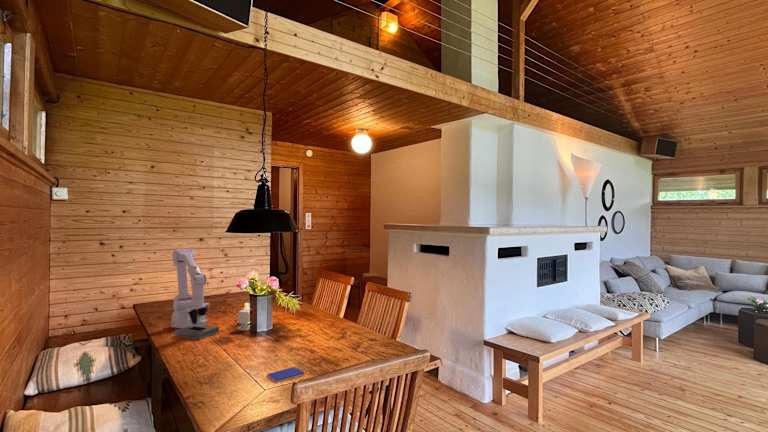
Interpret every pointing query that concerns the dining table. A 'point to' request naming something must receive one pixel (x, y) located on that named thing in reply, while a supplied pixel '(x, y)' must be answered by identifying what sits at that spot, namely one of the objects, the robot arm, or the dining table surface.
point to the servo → (198, 321)
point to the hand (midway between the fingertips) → (197, 322)
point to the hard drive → (285, 374)
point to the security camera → (244, 319)
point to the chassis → (196, 332)
